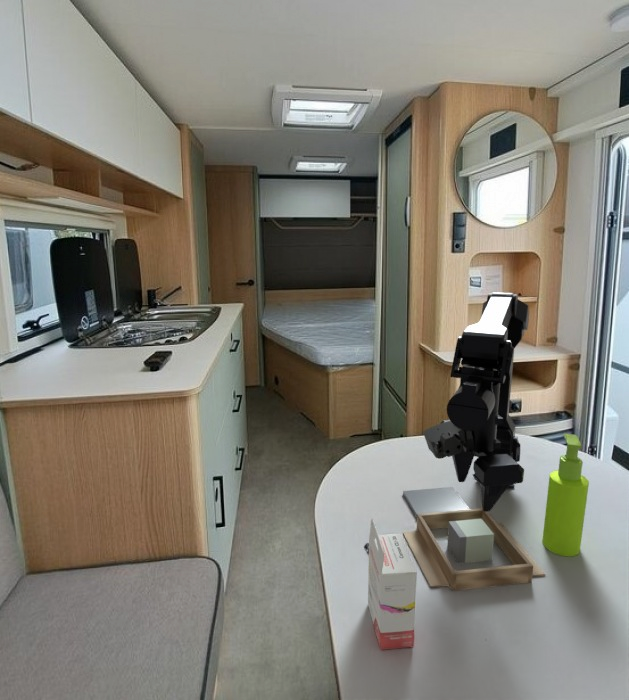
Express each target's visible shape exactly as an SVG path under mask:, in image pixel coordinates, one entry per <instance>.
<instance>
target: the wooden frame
mask: <svg viewBox="0 0 629 700" xmlns="http://www.w3.org/2000/svg"><path fill="white" fill-rule="evenodd" d="M471 519H482V520H483V521H484V522H485V524H486V525H487V526H488V527H489V529H490V530H491V531H492V532H493V533H494V541H495V543H496V544H497V546H498V547H499V548H500V549H501V550H502V552H503V553H504V554H505V555H506V557H507V558H508V559H509V560H510V562H511V565H510V564H509V565H502V566H492V567H491V566H490V567H483V568H474V569H473V568H472V569H464V570H455V569H454V568H453V566H452V564H451V562H450V560H449V559H448V557H447V556H446V554H445V552H444V551H443V549H442V548H441V546H440V544H439V542H438V541H437V539H436V537H435V536H434V534H433V533H432V531H431V530H433V529H445V528H448V527H449V522H450V521H460V520H471ZM416 529H417V530H409V531H402V534H403V536H404V538H405V540H406V541H407V544H408V546H409V548H410V550H411V552H412V555H413V556H414V558H415V560H416V562H417V563H418V566H419V568H420V570H421V571H422V574H423V576H424V578H425V579H426V582H427V584H428V585H429V588H432V589H433V588H441V587H442V588H443V587H449V588H450V591H451V592H455V591H464V590H473V589H481V588H492V587H498V586H499V587H500V586H509V585H518V584H526V583H532V581H533V578H534V577H543V576H546V573H545V571H544V570H543V569H542V568H541V567H540V566H539V564H538V563H537V562H536V561H535V560H534V558H533V557H531V556H530V554H529V553H528V551H526V550H525V548H524V547H523V546H522V545H521V544H520V543H519V542H518V540H517V539H516V538H515V537H514V536H513V534H511V532H510V531H509V530H508V529H507V528H506V527H505V526H504V524H503V523H502V522H496V520H495V519H494V518H493V517H492V515H491V514H490V513H489V511H486V512H484V511H483V509H482V507H480V508H470V509H469V510H458V511H447V512H436V513H425V514H417V518H416Z"/></svg>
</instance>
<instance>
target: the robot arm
mask: <svg viewBox="0 0 629 700" xmlns="http://www.w3.org/2000/svg"><path fill="white" fill-rule="evenodd" d="M529 307H530V306H529V305H528V304H526V303H525V302H524V301H522V300H520V299H519V298H518V294H514V292H495V291H494V292H492V293H488V294H487V298H486V301H484V302H483V304H482V309H481V314H480V319H479V321H478V322H477V323H474V324H469V325H468V326H467V327H466V328H465V329H464V330H463V331H462V334H461V336H458V338H457V340H456V344H455V348H454V354H453V358H452V359H453V361H452V365H451V369H450V370H451V371H450V378H455V379H460V382H459V387H458V388H457V390H456V391H455V392H454V393H453V395H452V397H450V399H449V400H448V403H447V404H446V414H447V417H448V419H447V420H444V419H443V420H442V421H440V423H439V424H435V425H433V426H431V427H429V428H426V429H425V430H424V431H423V433H422V434H423V436H424V439H425V442H426V445H427V448H428V451H430V452H431V454H432V455H433V456H434V457H435V458H436V459H444V458H447V457H448V458H450V457H452V461H453V465H454V469H455V473H456V477H457V481H458V482H459V483H464V482H466V479H467V478H468V475H469V473H470V469H471V466H472V464H473V467H472V468H473V472H474V473H473V474H472V476H473V478H475V480H476V481H477V482H478V483H479V484H480V495H481V499H480V501H481V508H482V509H483V511H484V512H486V511H487V512H490V511H491V510H492V509H493V508H494V506H495V505H496V503H498V501H499V500H500V498H501V497H502V495H503V494H504V493H505V492H506V491H507V490H508V489H510V488H511V489H512V488H515V487H516V486H515V484H522V483H523V481H524V476H525V469H524V468H523V466H521V465H520V464H519V463H518V462H520V460H521V443H520V442H519V437H518V436H516V425H515V422H514V421H513V419H512V418H511V416H510V414H509V413H510V402H511V393H512V392H511V391H512V379H513V368H514V357H515V356H514V355H515V348H516V347H517V346H518V345H519V343H521V341H522V339H523V338H524V335H525V331H528V328H529V321H530V309H529ZM460 365H461V366H460ZM474 457H476V459H475V460H474Z"/></svg>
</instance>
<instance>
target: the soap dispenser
mask: <svg viewBox="0 0 629 700" xmlns="http://www.w3.org/2000/svg"><path fill="white" fill-rule="evenodd" d="M562 435H563V438H564V440H565V442H566V444H567V445H566V452H565V453H566V454H564V455H560V457H559V462H558V463H559V464H558V470H553V471H552V472H550V473H549V478H548V487H547V495H546V496H547V497H546V503H545V504H546V505H545V513H544V514H545V515H544V523H543V531H542V544H543V546H544V547H545V548H546V549H547V550H548V551H550V552H551V553H553V554H555V555H557V556H558V555H559V556H562V557H576V556H578V555H579V553H580V551H581V545H582V537H583V530H584V523H585V522H584V521H585V515H586V507H587V500H588V491H589V486H590V485H589V483H590V482H589V480H588V478H586V477H585V476H584V475H582V469H583V463H584V462H583V460H582V459H581V458H579V457H578V456H579V450H581V449H582V443H581V441H580V439H579V437H578V436H577V434H571V433H562Z"/></svg>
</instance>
